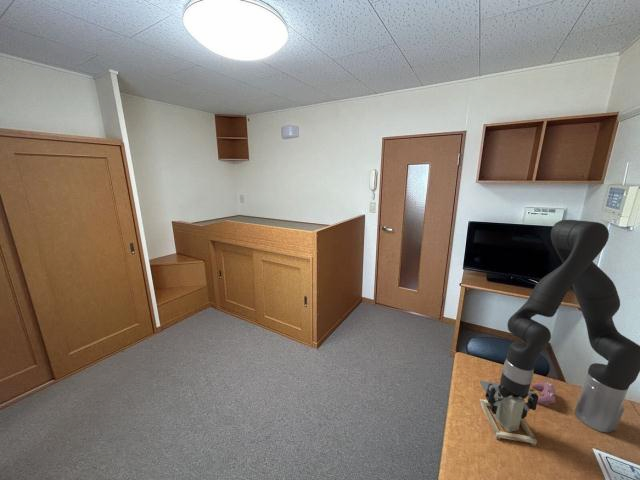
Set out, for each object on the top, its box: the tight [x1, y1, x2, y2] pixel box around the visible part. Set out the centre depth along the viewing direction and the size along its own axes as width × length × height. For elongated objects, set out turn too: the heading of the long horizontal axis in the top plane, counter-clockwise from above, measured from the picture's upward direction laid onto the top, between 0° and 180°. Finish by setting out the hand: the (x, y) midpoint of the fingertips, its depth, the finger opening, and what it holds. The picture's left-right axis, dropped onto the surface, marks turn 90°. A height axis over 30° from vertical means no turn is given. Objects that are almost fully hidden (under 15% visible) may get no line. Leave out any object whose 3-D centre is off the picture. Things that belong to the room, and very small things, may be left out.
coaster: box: [479, 380, 500, 400], centre depth 100 cm, size 10×10×1 cm
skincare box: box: [493, 394, 526, 433], centre depth 87 cm, size 6×4×12 cm
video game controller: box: [531, 381, 556, 405], centre depth 98 cm, size 10×5×7 cm, turn 143°
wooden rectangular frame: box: [478, 398, 538, 446], centre depth 88 cm, size 11×13×2 cm
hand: (506, 414), depth 88 cm, fingers open, 8 cm apart
